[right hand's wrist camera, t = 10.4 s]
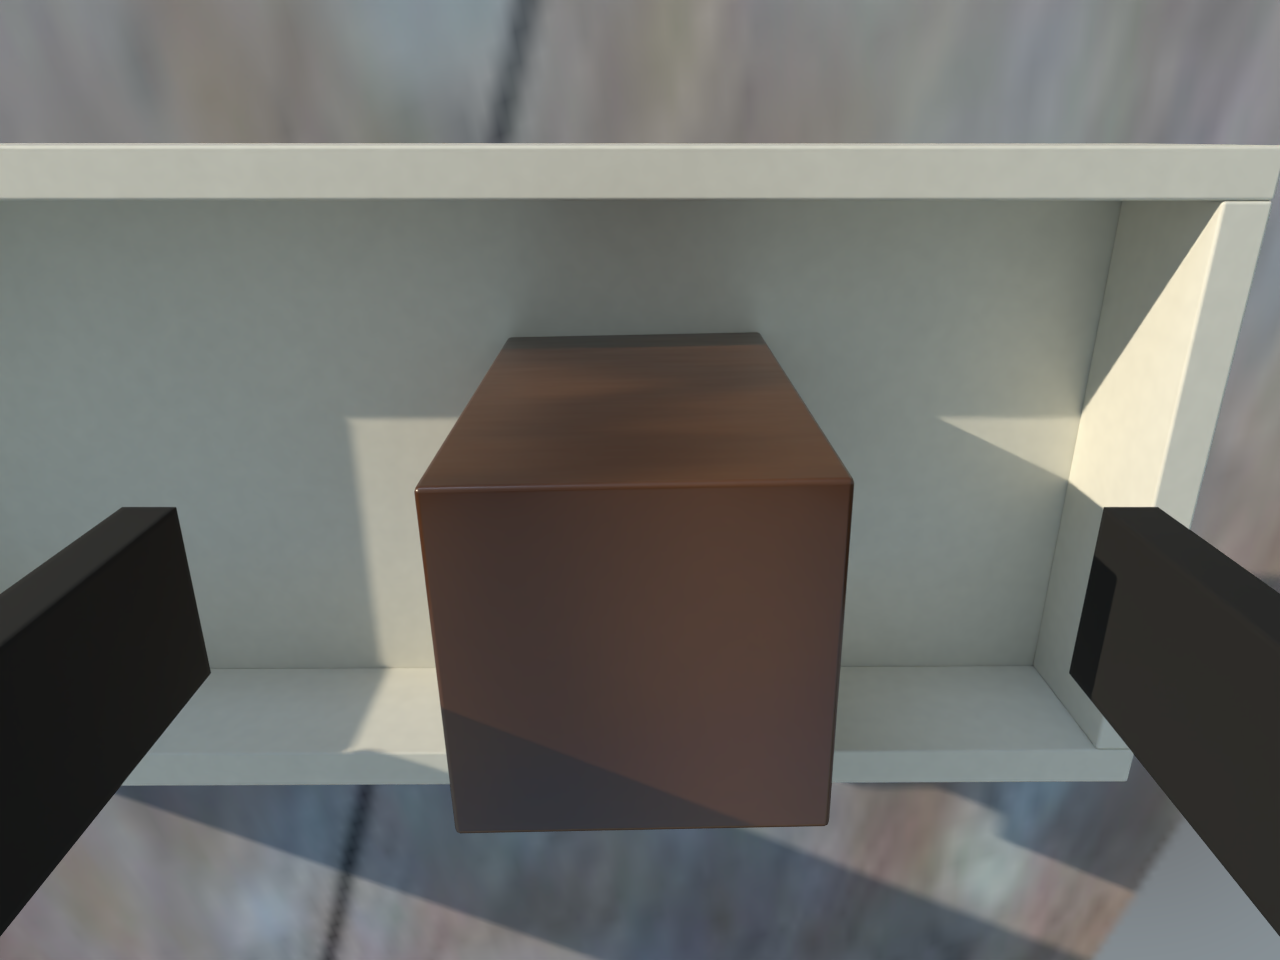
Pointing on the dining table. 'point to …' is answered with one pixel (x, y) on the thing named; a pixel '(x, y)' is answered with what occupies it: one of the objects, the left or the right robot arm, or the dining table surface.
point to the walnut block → (637, 588)
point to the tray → (617, 305)
